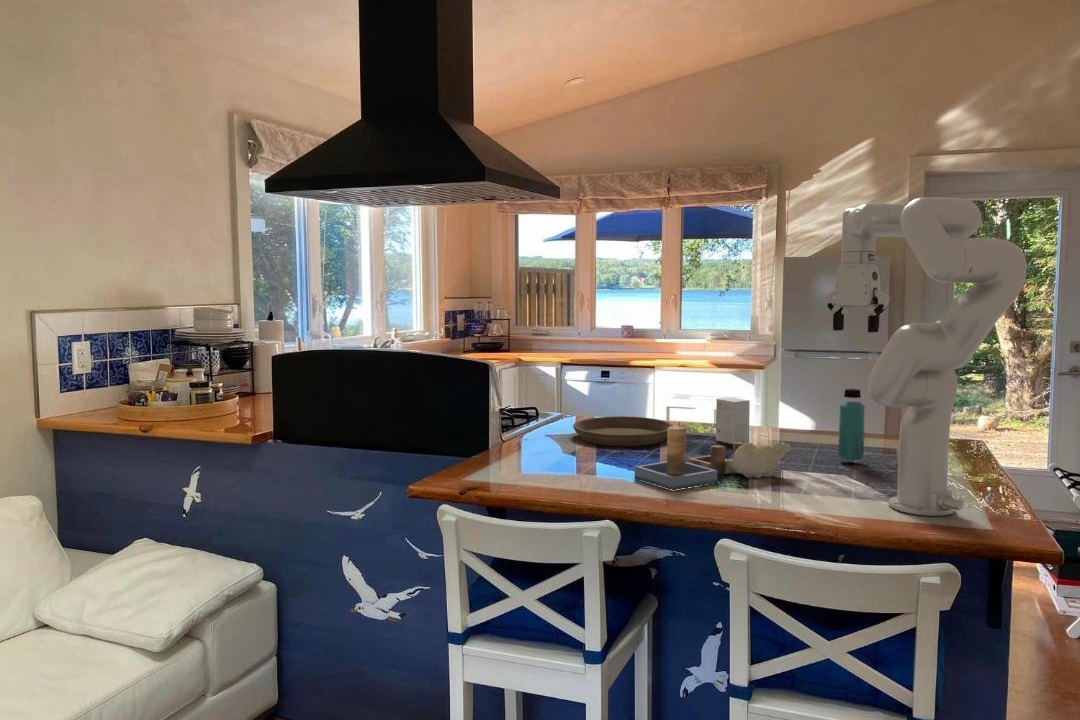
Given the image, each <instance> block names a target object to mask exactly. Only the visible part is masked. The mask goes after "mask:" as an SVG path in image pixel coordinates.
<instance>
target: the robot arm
mask: <svg viewBox="0 0 1080 720" xmlns="http://www.w3.org/2000/svg"><path fill="white" fill-rule="evenodd" d="M981 223H982V213H981V210H980V208H979V207H978V206H977V204H975V203H974V202H973V201H971V200H969V199H966V198H962V197H947V196H945V197H941V196H921V197H917V198H915V199H913V200H911V201H910V202H908V203H902V204H901V203H865V204H861V205H859V206H857V207H856V206H855V207H851V208H846V209H845V210H844V211H843V213H842V224H841V225H842V227H841V250H840V251H841V256H840V257H841V258H840V265H839V266H838V268H837V272H836V273H837V274H836V278H835V288H834V290H833V291H831V292H830V293H828V294H826V295H825V296H824V299H825V302H826V304H827V308H828V309H829V311H830V313H831V315H832V317H833V318H832V330H833V331H835V332H836V331H843V330H844V329H845V326H844V325H845V323H844V322H845V314H844V313H843V312H844V311H845V309H846V308H866V310H867V311H868V313H869V314H870V315H868V316H867V333H878V332H879V328H880V316H882V315H883V312H884V311H885V310H886V309H887V306H888V305H889V302H890V301H891V297H890V296H889V295H888V294H886V293H884V292H882V287H881V276H880V270H879V266H878V265H876V264H875V263H876V261H878V260H879V258H880V257H879V254H876V242H877V241H876V238H880V237H881V238H905V241H907V244H908V245H909V248H910V249H911V251H912V252H913V254H914V256H915V258H916V259H917V261H918V263H919V264H920V266H921V268H922V269H923V271H924V273H925V274H926V275H927V276H928V278H930V279H931V280H933V281H935V282H939V283H943V284H959V283H960V284H974V285H972V286H971V287H970V288H968V289H967V290H965V291H964V292H963V293H961V294H960V295H958V296H957V297H956V298H955V299H954V300H953V301H952V302H951V304H950V305H949V307H948V309H947V310H946V312H945V313H944V315H943V316H942V317H941V318H940V319H939V320H937V321H932V322H914V323H909V324H908V323H907V324H905V325H902V326H901V327H899V328H898V329H897V330H895V331H894V333H893V334H892V336H891V337H890V338H889V340H888V342H887V343H886V345H885V347H884V348H883V350H882V352H881V353H880V356H879V357H878V359H877V360H876V363H875V364H874V366H873V368H872V370H871V372H870V375H869V378H868V386H867V387H868V393H869V396H870V398H871V399H872V400H873V402H874V403H876V404H878V405H880V406H881V407H888V408H898V407H899V408H903V407H905V408H906V407H907V409H906V411H905V412H904V414H903V417H902V419H901V422H900V425H899V442H898V462H897V463H898V464H897V466H898V467H897V470H898V471H897V484H896V485H897V488H896V496H892V497H890V498H889V499H888V505H889V507H890V506H891V507H890V508H892V509H893V508H894V510H896V511H898V510H899V512H902V513H905V512H906V513H907V514H910V515H911V514H912V515H916V516H917V515H918V516H926V517H940V516H941V517H942V516H948V515H952V514H953V513H954V512H955V510H956V511H962V510H963V508H964V500H963V499H959V498H956V497H953V496H952V495H953V494H952V492H953V491H952V490H951V489H948V472H949V471H948V469H949V453H950V452H949V448H950V447H949V446H950V435H951V434H950V431H951V420H952V419H951V418H952V412H953V407H954V403H955V399H956V395H957V391H958V383H959V381H958V376H957V374H956V371H955V370H957V369H961V368H963V367H964V366H966V364H968V363H969V362H970V360H971V359H972V358H973V356H974V355H975V353H976V352H977V351H978V349H979V347H981V345H982V343H983V342H984V341H985V339H986V337H987V336H988V335H989V333H990V332H991V331H992V328H993V327H994V326H995V325H996V323H997V322H998V320H999V319H1000V318H1001V317H1002V316H1003V315H1004V314H1005V313H1006V311H1007V310H1008V309H1010V307H1011V306H1012V304H1013V303H1014V302H1015V301H1016V299H1017V298H1018V297H1019V296H1020V293H1021V291H1022V289H1023V287H1024V285H1025V281H1026V277H1027V276H1026V275H1027V260H1026V256H1025V254H1024V252H1023V250H1022V249H1021V248H1020V246H1018V245H1017V244H1016V243H1014V242H1012V241H1009V240H1006V239H1002V238H995V237H970V236H972V235H973V234H974V233H976V231H978V229H979V227H980V225H981Z"/></svg>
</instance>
